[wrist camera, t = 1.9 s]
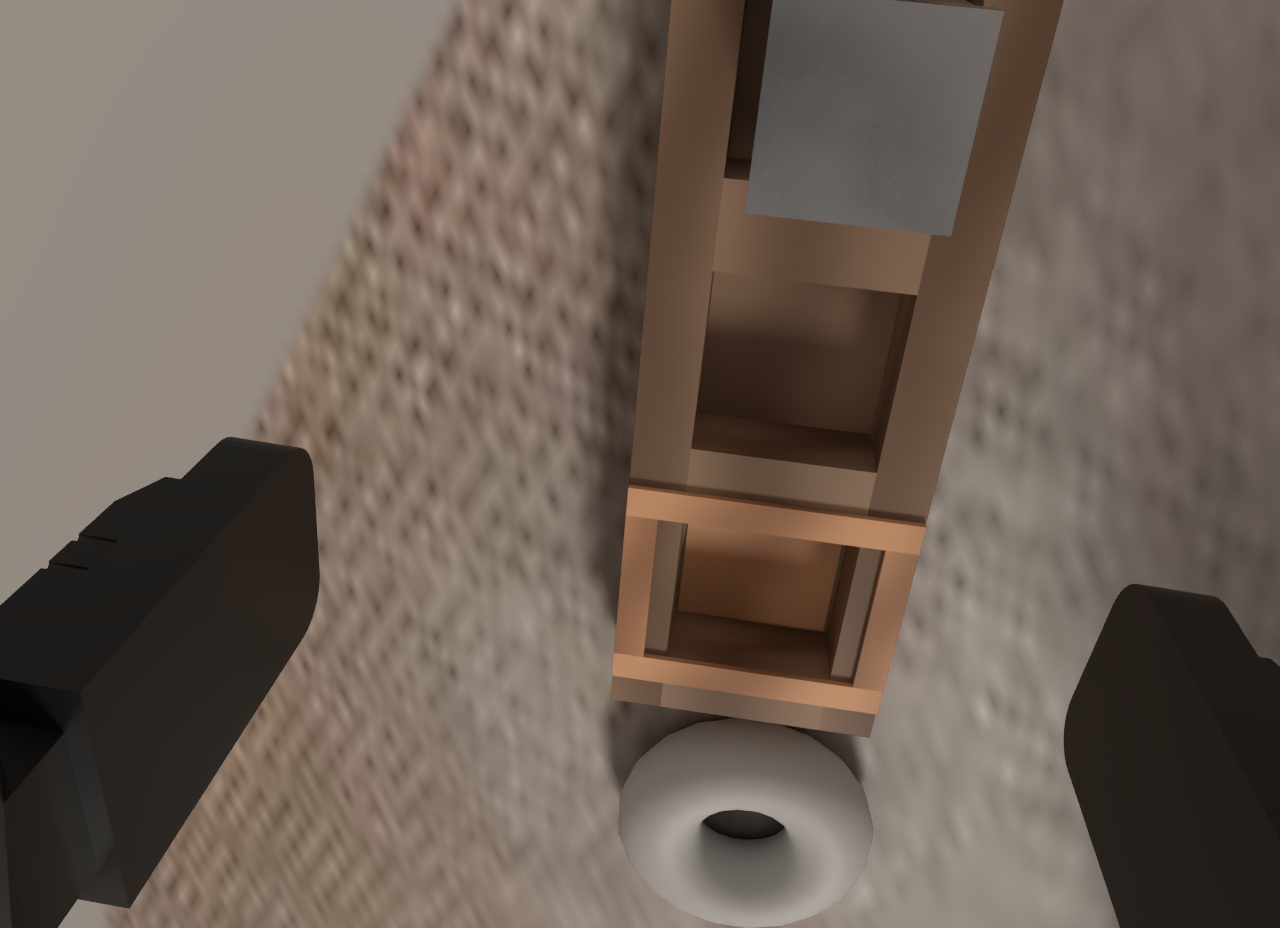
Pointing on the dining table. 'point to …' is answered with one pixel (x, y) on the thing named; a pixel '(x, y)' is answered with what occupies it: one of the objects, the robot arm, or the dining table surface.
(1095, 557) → the dining table surface
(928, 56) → the silver metal block
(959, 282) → the wooden compartment tray
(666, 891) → the donut
